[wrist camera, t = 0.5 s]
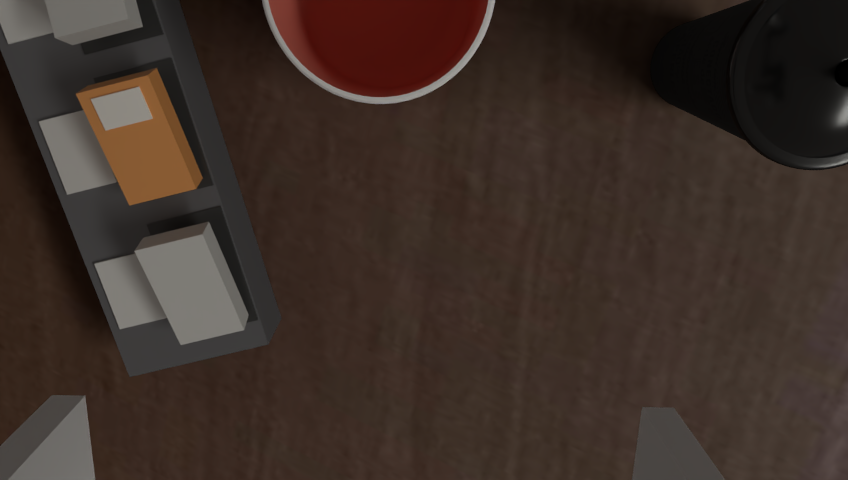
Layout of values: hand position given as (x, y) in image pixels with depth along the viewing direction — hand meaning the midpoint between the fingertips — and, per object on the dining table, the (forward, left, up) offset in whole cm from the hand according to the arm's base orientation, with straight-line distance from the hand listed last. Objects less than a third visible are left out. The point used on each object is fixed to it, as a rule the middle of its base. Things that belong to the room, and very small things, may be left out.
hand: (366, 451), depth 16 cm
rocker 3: (0, -11, -21) cm, 23 cm away
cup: (-12, +2, -26) cm, 29 cm away
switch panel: (-8, -13, -26) cm, 30 cm away
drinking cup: (-4, +19, -26) cm, 33 cm away
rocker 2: (-8, -11, -21) cm, 25 cm away
